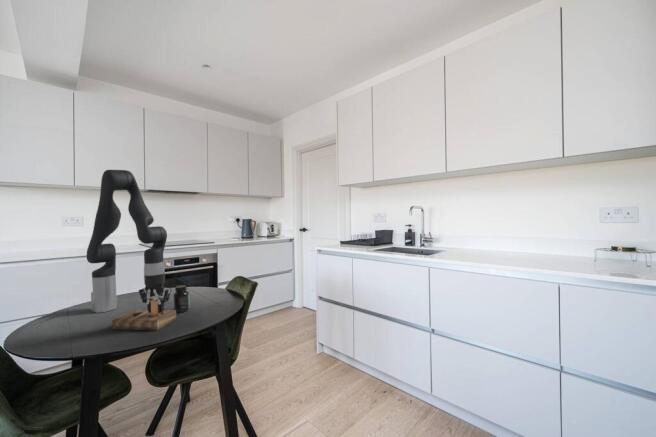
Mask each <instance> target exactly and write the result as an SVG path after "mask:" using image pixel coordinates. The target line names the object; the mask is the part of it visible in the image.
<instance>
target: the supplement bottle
mask: <svg viewBox="0 0 656 437" xmlns="http://www.w3.org/2000/svg"><path fill="white" fill-rule="evenodd" d="M187 288H188V287H187V285H184V284H183V285H181V284H180V285H177V286H175V289H174V293H173V295H172V296H173V300H172V301H173V310H176V314H182V313H183V314H184V313H186V312H188V311H189V310H190V292H189V291H188V289H187Z"/></svg>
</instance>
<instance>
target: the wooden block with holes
mask: <svg viewBox="0 0 656 437" xmlns="http://www.w3.org/2000/svg"><path fill="white" fill-rule="evenodd" d="M175 320H177V313H176V310H174V309H164V311H163V312H161V315H160V316H158V317H151V313H149V312H148V309H140V308H139V309H137V308H136V309H133V310H131V311H129V312H126V313H124V314H121V315H119V316H117V317H115V318H113V319H112V330H132V331H134V330H135V331H136V330H137V331H138V330H140V331H141V330H142V331H144V330H145V331H159V330H161V328H163V327H165V326H167V325H168V324H170V323H172V322H174V321H175Z"/></svg>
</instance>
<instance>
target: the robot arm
mask: <svg viewBox="0 0 656 437" xmlns="http://www.w3.org/2000/svg"><path fill="white" fill-rule="evenodd" d="M99 191H100V193H99V201H98V206H97V210H96V214H95V219H94V223H93V224H94V225H93V231H92V234H91V237H90V240H89V243H88V247H87V249H86V261H87V262H88V263H89V264H101V263H104V264H103V265H102V266H101V267H99V268H97V269H95V270H93V271H92V272H91V280H92V281H91V283H92V284H91V286H92V291H91V293H90V300H91V302H90V304H91V312H93V313H105V312H109V311H114V310H116V309H117V308H118V300H117V282H116V278H117V276H116V270H117V268H116V267H117V265H116V262H117V260H116V257H117V253H116V252H117V250H116V249H117V248H116V246H115V244H114V243H104V241H105V240H106V239H107V238H108V237H109V236H110V235H112V234H113V233H114V232H115V231H116V230H117V229H118V227H119V226H120V221H121V219H122V218H121V217H122V213H121V210H120V208H119V206H118V205H117V203H115V200H114V192H116V191H126V192H128V194H129V196H130V198H129V203H128V207H127V209H128V210H127V211H128V213H129V216H130V217H131V219H132V221H133V222H134V224H135V228H136V235H137V238H138V240H139V241H140V242H141V243H143V244H146V245H148V244H152V246H151V247H149V248H147V249H146V250H144V252H143V258H144V259H143V262H144V264H143V280H144V282H143V283H144V285H145V286H144V287H143V288H140V289H138V293H139V295H140V298H141V300H142V301H141V302H142V303H144V304H146V305H147V310H148V312H149V313H151V300H152V299H157V300H158V313H161V312H163V311H164V310H165V303H167V302H169V300H170V296H171V293H172V288H171V287H170V288H168V287H166V286H165V282H166V277H165V276H166V274H165V272H166V271H165V263H164V251H165V247H166V244H167V243H166V242H167V238H168V233H167V230H166V228H164V226H160V225H159V226H158V225H157V226H151V225H152V224H153V223H154V221H155V220H154V216H153V215H152V213H151V211H150V210H149V208H148V207H147V205H146V204H145V200H144V199H143V196H142V194H141V190H140V187H139V186H138V182H137V179H136V178H135V176H134V173H132V172H131V171H130V170H125V169H106V170H105V171H104V172H103V173H102V176H101V182H100V190H99Z"/></svg>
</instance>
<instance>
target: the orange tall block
mask: <svg viewBox="0 0 656 437" xmlns="http://www.w3.org/2000/svg"><path fill="white" fill-rule="evenodd" d="M160 315H161V313H158V300H157V299H156V298H154V299H152V300H151V317H158V316H160Z"/></svg>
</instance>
